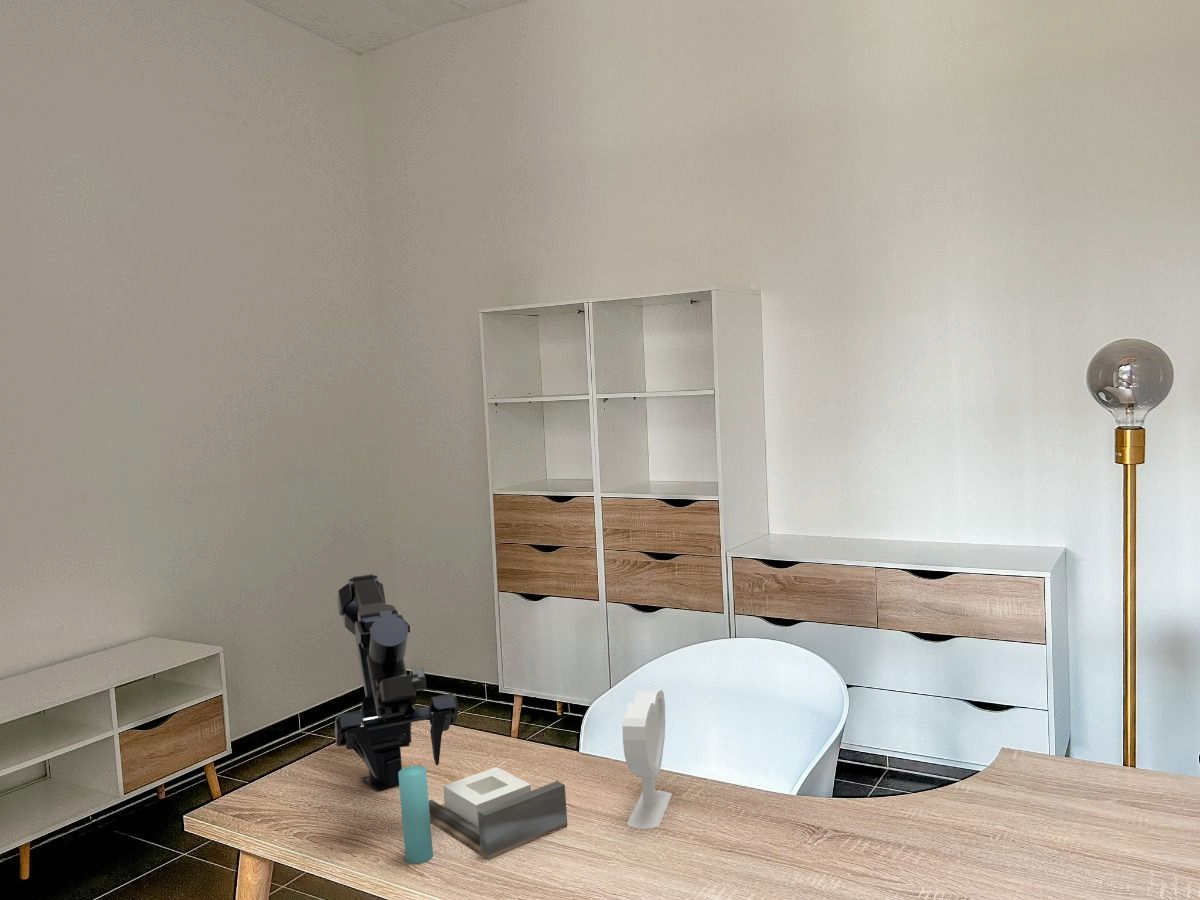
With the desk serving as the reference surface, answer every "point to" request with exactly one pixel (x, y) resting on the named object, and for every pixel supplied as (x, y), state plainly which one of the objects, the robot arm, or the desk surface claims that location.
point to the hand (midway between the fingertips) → (407, 770)
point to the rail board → (507, 820)
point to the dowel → (415, 814)
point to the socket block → (482, 793)
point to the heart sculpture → (646, 754)
